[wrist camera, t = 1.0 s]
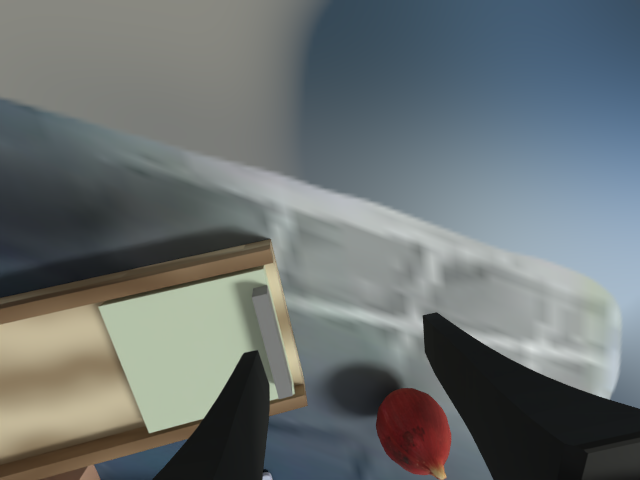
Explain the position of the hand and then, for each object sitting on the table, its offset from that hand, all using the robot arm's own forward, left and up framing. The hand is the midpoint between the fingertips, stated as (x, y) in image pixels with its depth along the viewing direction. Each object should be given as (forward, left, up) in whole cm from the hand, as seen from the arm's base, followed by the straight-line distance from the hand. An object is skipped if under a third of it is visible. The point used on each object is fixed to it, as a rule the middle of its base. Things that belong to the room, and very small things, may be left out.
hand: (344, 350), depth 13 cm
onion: (-15, -5, -13) cm, 20 cm away
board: (-4, +15, -12) cm, 19 cm away
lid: (-4, +9, -10) cm, 14 cm away
